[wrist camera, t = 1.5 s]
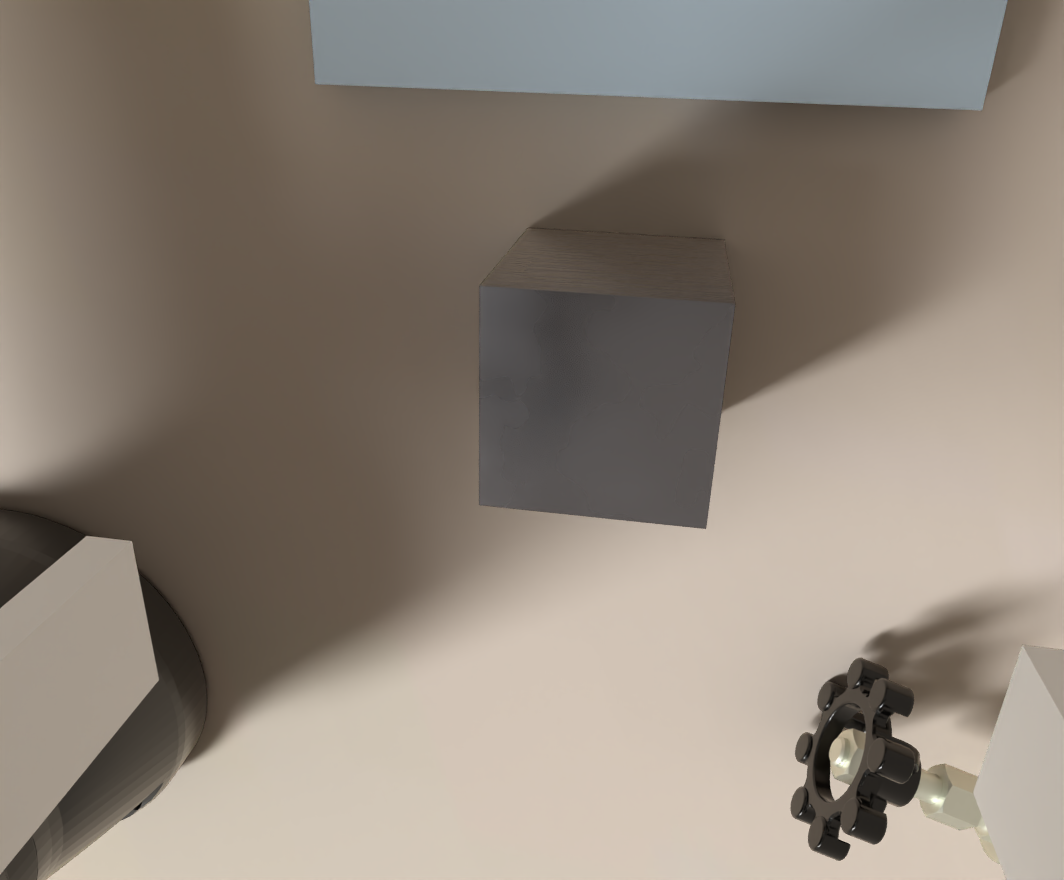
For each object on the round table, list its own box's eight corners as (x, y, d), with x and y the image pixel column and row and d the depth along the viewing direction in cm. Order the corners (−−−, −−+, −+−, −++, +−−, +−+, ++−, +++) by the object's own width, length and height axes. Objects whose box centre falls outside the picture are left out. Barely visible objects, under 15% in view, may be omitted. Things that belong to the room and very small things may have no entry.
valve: (1176, 744, 31) (866, 620, 31) (1290, 910, 25) (908, 757, 25) (1064, 857, 34) (780, 744, 34) (1142, 1029, 28) (800, 893, 28)
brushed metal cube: (523, 405, 30) (479, 505, 23) (528, 228, 27) (479, 285, 21) (702, 421, 29) (705, 528, 23) (724, 240, 26) (735, 304, 20)
